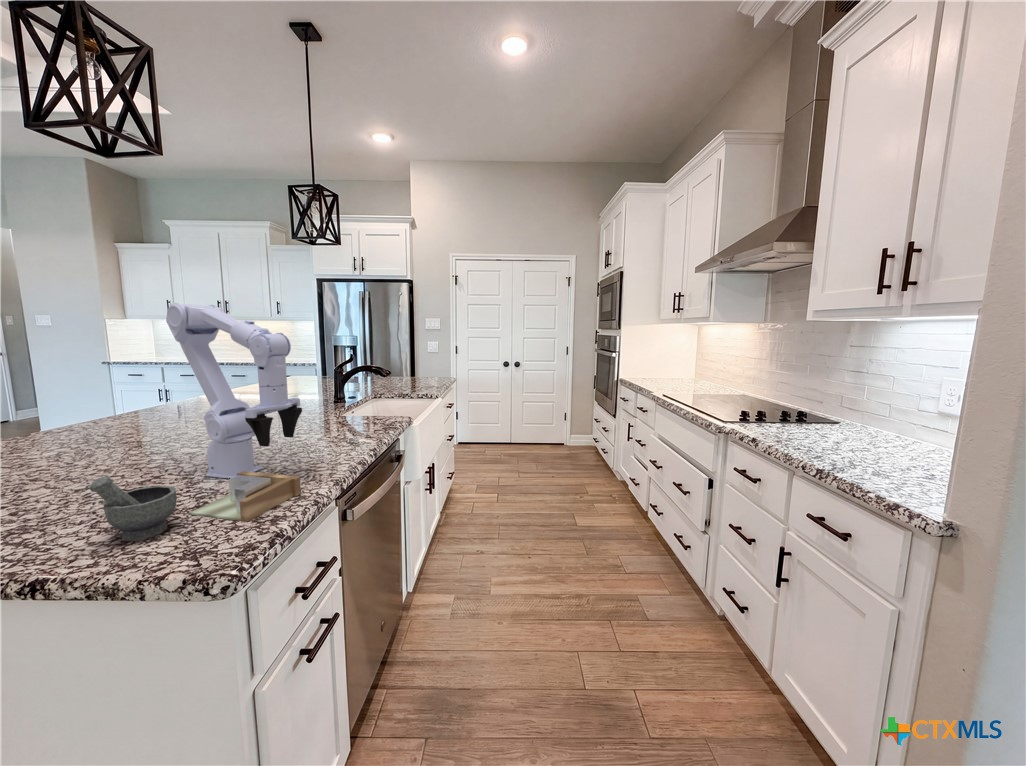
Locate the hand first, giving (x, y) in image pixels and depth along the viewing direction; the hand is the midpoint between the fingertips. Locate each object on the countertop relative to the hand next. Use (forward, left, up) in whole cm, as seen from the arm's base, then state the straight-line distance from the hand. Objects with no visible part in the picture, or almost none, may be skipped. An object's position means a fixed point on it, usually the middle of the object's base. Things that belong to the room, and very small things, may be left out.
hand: (277, 441), depth 96 cm
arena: (+3, -12, -10) cm, 16 cm away
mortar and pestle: (-5, -27, -10) cm, 29 cm away
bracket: (+3, -14, -9) cm, 17 cm away
